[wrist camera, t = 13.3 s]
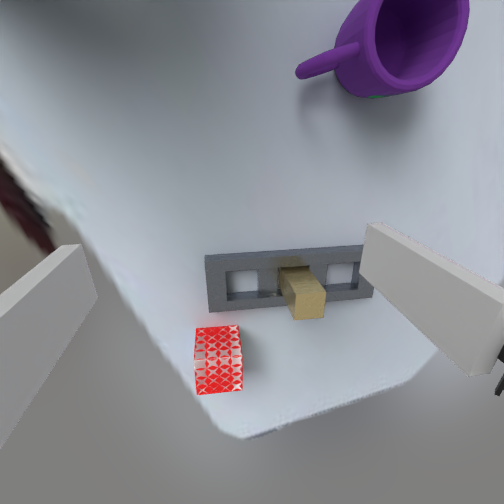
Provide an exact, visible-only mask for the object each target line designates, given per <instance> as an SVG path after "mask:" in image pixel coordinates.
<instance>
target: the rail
mask: <svg viewBox="0 0 504 504" xmlns="http://www.w3.org/2000/svg"><path fill="white" fill-rule="evenodd" d="M363 247H364V245H352V246H338V247H323V248H308V249H293V250H278V251H263V252H248V253H233V254H218V255H205V271H206V282H207V293H208V304H209V313H211V312H222V311H233V310H243V309H254V308H265V307H275V306H286V305H287V303H286V301H285V299H284V297H283V295H282V292H281V290H280V289H277V276H278V268H279V267H293V266H306V265H307V267H308V268H309V269H310V271H311V272H312V273H313V275H314V276H315V277H316V279H317V280H318V281H319V283H320V284H321V285H322V287H323V288H324V289H325V291H326V298H325V302H328V301H339V300H350V299H360V298H371V297H372V295H373V290H374V287H373V286H372V285H371V284H370V283H369V282H368V281H367V280H366V279H365V278H364V277H363V276H362V275H361V274H360V273H359V269H360V263H361V258H362V252H363ZM346 262H354V268H353V274H352V280H351V283H342V284H330V285H325V284H326V275H327V266H328V264H333V263H346ZM253 269H258V291H249V292H237V293H227V291H226V274H225V272H226V271H240V270H253Z"/></svg>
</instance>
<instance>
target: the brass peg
mask: <svg viewBox="0 0 504 504" xmlns="http://www.w3.org/2000/svg"><path fill="white" fill-rule="evenodd" d="M279 288H280V290H281V292H282V295H283V297H284V299H285V301H286V303H287V306H288V308H289V310H290V312H291V314H292V317H293V319H294V320H303V319H313V318H323V315H324V307H325V298H326V291H325V289H324V288H323V287H322V285H321V284H320V283H319V281H318V280H317V279H316V277H315V276H314V275H313V273H312V272H311V271H310V269H309V268H308V267H307V265H306V266H293V267H279Z"/></svg>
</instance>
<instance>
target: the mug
mask: <svg viewBox="0 0 504 504" xmlns="http://www.w3.org/2000/svg"><path fill="white" fill-rule="evenodd" d="M469 11H470V9H469V0H360V1H359V2H358V3H357V4H356V5H355V6H354V8H353V9H352V11H351V12H350V14H349V15H348V17H347V18H346V20H345V21H344V23H343V24H342V26H341V28H340V31H339V33H338V36H337V38H336V43H335V48H334V49H332V50H329V51H326V52H324V53H322V54H320V55H317V56H315V57H313V58H311V59H309V60H307V61H305V62H303V63H301V64H299V65H298V67H297V68H296V71H295V74H296V76H297V78H299V79H307V78H310V77H314V76H317V75H320V74H323V73H326V72H329V71H332V70H334V69H335V71H336V75H337V77H338V79H339V81H340V82H341V84H342V86H343V87H344V88H345V89H346V90H347V91H348V92H350V93H352V94H353V95H355V96H358V97H365V98H380V97H386V96H392V95H398V94H403V93H407V92H412V91H416V90H418V89H420V88H423V87H425V86H427V85H429V84H431V83H432V82H433V81H434V80H435V79H437V78H438V77H439V76H440V75H442V73H443V72H444V71H445V70H446V68H447V67H448V66H449V65H450V63H451V62H452V61H453V59H454V58H455V56H456V54H457V52H458V50H459V48H460V46H461V44H462V41H463V38H464V35H465V32H466V29H467V24H468V18H469Z"/></svg>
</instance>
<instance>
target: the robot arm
mask: <svg viewBox="0 0 504 504" xmlns="http://www.w3.org/2000/svg"><path fill="white" fill-rule="evenodd" d="M359 273H360V274H361V275H362V276H363V277H364V278H365V279H366V280H367V281H368V282H369V283H370V284H371V285H372V286H373V287H375V288H376V289H377V290H378V291H379V292H380V293H381V294H382V295H383V296H384V297H385V298H386V299H387V300H388V301H389V302H390V303H391V304H392V305H393V306H394V307H396V308H397V309H398V310H399V311H400V312H401V313H402V314H403V315H404V316H405V317H406V318H407V319H408V320H409V321H410V322H411V323H412V324H413V325H414V326H415V327H417V328H418V329H419V330H420V331H421V332H422V333H423V334H424V335H425V336H426V337H427V338H428V339H429V340H430V341H431V342H432V343H433V344H434V345H435V346H436V347H438V348H439V349H440V350H441V351H442V352H443V353H444V354H445V355H446V356H447V357H448V358H449V359H450V360H452V361H453V363H454V364H455V365H456V366H458V367H459V368H460V369H461V370H462V371H463V372H464V373H465V374H466V375H467V376H468V377H471V376H477V375H483V374H490V373H491V371H492V369H493V367H494V365H495V363H496V361H497V359H499V360H500V361H502V362H503V363H504V288H502V287H500V286H498V285H497V284H495V283H493V282H491V281H489V280H487V279H485V278H484V277H482V276H480V275H478V274H476V273H474V272H472V271H471V270H469V269H467V268H465V267H463V266H461V265H459V264H458V263H456V262H454V261H452V260H450V259H448V258H446V257H445V256H443V255H441V254H439V253H437V252H435V251H434V250H432V249H430V248H428V247H426V246H424V245H422V244H421V243H419V242H417V241H415V240H413V239H411V238H409V237H408V236H406V235H404V234H402V233H400V232H398V231H396V230H395V229H393V228H391V227H389V226H387V225H385V224H384V223H370V224H367V230H366V235H365V241H364V247H363V252H362V258H361V263H360V269H359ZM97 299H98V296H97V293H96V289H95V286H94V283H93V280H92V277H91V274H90V271H89V267H88V264H87V261H86V258H85V255H84V252H83V249H82V245H81V244H75V245H62V246H60V247H59V248H58V249H57V250H55V251H54V252H53V253H52V254H50V255H49V256H48V257H47V258H45V259H44V260H43V261H42V262H40V263H39V264H38V265H37V266H35V267H34V268H33V269H32V270H30V271H29V272H28V273H27V274H25V275H24V276H23V277H22V278H20V279H19V280H18V281H17V282H15V283H14V284H13V285H12V286H11V287H9V288H8V289H7V290H6V291H4V292H3V293H2V294H1V295H0V449H1V448H2V446H3V445H4V443H5V441H6V440H7V438H8V437H9V435H10V434H11V432H12V431H13V429H14V427H15V426H16V424H17V423H18V421H19V420H20V418H21V417H22V415H23V414H24V412H25V410H26V409H27V407H28V406H29V404H30V403H31V401H32V400H33V398H34V396H35V395H36V393H37V392H38V390H39V389H40V387H41V386H42V384H43V383H44V381H45V379H46V378H47V376H48V375H49V373H50V372H51V370H52V369H53V367H54V365H55V364H56V362H57V361H58V359H59V358H60V356H61V355H62V353H63V352H64V350H65V348H66V347H67V345H68V344H69V342H70V340H71V339H72V338H73V336H74V334H75V333H76V331H77V330H78V328H79V327H80V325H81V324H82V322H83V320H84V319H85V317H86V316H87V314H88V313H89V311H90V310H91V308H92V307H93V305H94V303H95V302H96V300H97ZM502 390H504V374H503V376H502V378H501V380H500V382H499V383H498V385H497V387H496V389H495V395H498V396H500V394H501V392H502Z"/></svg>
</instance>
